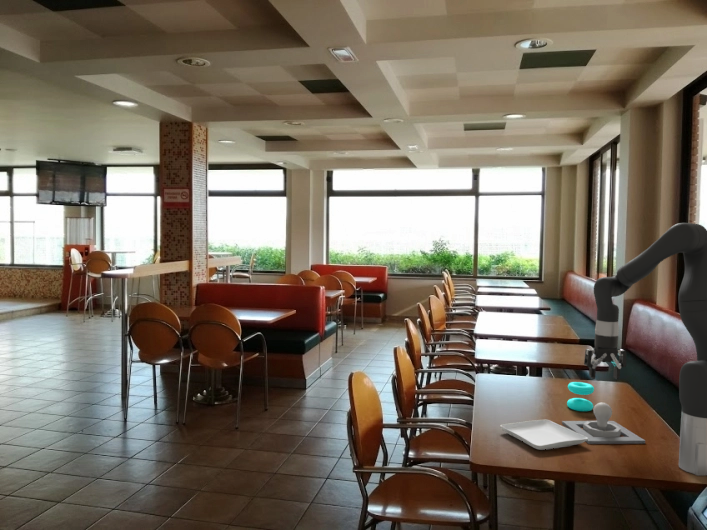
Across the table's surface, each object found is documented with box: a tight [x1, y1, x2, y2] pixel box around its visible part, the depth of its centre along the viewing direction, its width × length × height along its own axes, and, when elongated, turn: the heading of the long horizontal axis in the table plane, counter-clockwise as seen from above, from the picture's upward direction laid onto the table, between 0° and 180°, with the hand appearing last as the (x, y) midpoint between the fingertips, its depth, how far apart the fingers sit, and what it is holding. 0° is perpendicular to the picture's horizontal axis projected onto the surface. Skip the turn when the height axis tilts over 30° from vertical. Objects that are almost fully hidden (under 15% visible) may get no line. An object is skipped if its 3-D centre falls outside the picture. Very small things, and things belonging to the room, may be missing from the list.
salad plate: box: [499, 418, 588, 451], centre depth 192 cm, size 21×21×3 cm
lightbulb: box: [592, 401, 613, 431], centre depth 199 cm, size 6×6×11 cm
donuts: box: [566, 381, 595, 412], centre depth 227 cm, size 10×10×10 cm
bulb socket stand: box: [561, 420, 646, 445], centre depth 199 cm, size 20×20×2 cm
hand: (604, 378), depth 198 cm, fingers open, 8 cm apart
